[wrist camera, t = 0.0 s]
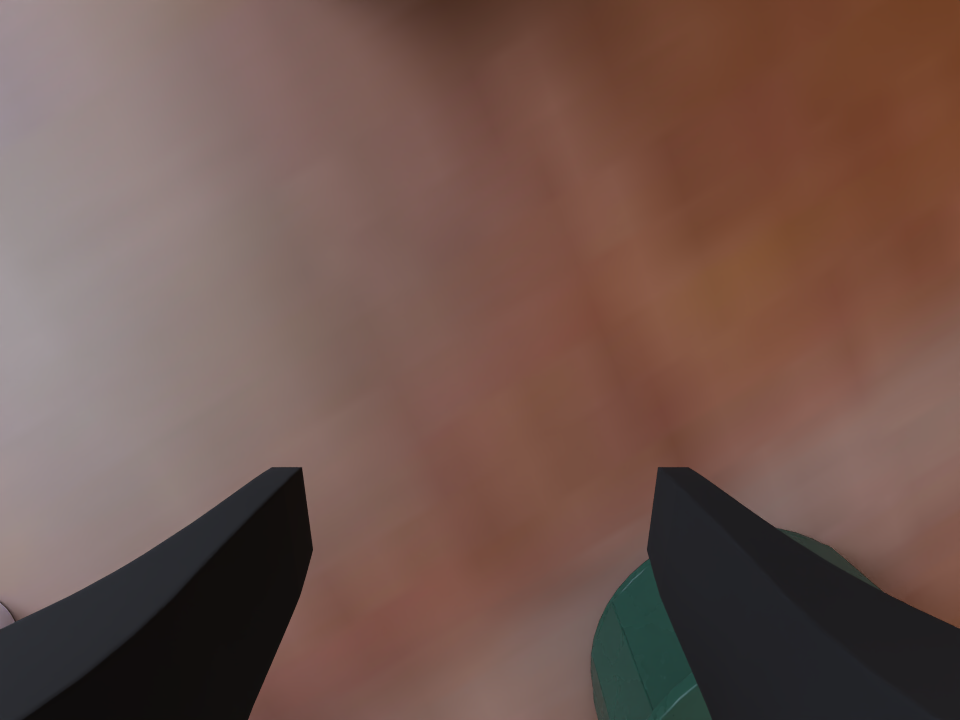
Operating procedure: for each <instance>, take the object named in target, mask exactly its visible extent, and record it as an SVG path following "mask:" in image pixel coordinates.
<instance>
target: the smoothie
mask: <svg viewBox="0 0 960 720" xmlns="http://www.w3.org/2000/svg"><path fill="white" fill-rule="evenodd" d="M14 622H15V621H14V619H13V617H12V615H11V614H10V612H9V611H8V610H7V609H6V608H5V607H4V606H3V605H2V604H1V603H0V629H2V628H4V627H6V626H8V625H10V624H12V623H14Z"/></svg>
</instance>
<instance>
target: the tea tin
mask: <svg viewBox="0 0 960 720" xmlns="http://www.w3.org/2000/svg"><path fill="white" fill-rule="evenodd" d="M776 529H778V528H776ZM778 530H779V531H781V532H783V533H784V534H786V535H787V536H789V537H790V538H792V539H793V540H795V541H796V542H798V543H799V544H801V545H803V546H804V547H806V548H807V549H809V550H811V551H812V552H814V553H815V554H817V555H819V556H820V557H822V558H823V559H825V560H827V561H828V562H830V563H832V564H833V565H835V566H837V567H839V568H840V569H842V570H844V571H846V572H847V573H849V574H851V575H853V576H855V577H857V578H858V579H860V580H862V581H864V582H866V583H868V584H869V585H871V586H873V587H875V588H877V589H879V588H878V587H877V586H876V585H875V584H873V583H872V582H871V581H870V580H869V579H868V578H866V577H865V576H864V575H863V574H862V573H861V572H859V571H858V570H857V569H856V568H855V567H854V566H852V565H851V564H850V563H849V562H848V561H847V560H845V559H844V558H843V557H842V556H841V555H840V554H838V553H837V552H836V551H835V550H834V549H833V548H830V547H829V546H827V545H824V544H821V543H820V542H818V541H816V540H814V539H812V538H809V537H806V536H804V535H801V534H798V533H795V532H791V531H787V530H782V529H778ZM879 590H880V589H879ZM880 591H882V590H880ZM882 592H883V591H882ZM690 673H692V670H691V668H690V666H689V663H688V661H687V659H686V656H685V654H684V652H683V649H682V647H681V645H680V643H679V640H678V638H677V636H676V633H675V631H674V628H673V626H672V624H671V621H670V619H669V617H668V614H667V612H666V609H665V607H664V605H663V602H662V600H661V597H660V594H659V591H658V588H657V584H656V581H655V577H654V574H653V570H652V566H651V563H650V559H648V560H647V561H645V562H644V563H643V564H642V565H641V566H640V567H638V568H637V569H636V570H635V571H634V572H633V573H632V574H631V575H630V576H629V577H628V578H627V579H626V580H625V581H624V582H623V584H622V585H621V586H620V587H619V588H618V589H617V591H616V592H615V594H614V595H613V597H612V598H611V600H610V601H609V603H608V604H607V606H606V608H605V610H604V612H603V614H602V616H601V618H600V621H599V624H598V627H597V630H596V633H595V636H594V640H593V646H592V652H591V677H592V685H593V695H594V704H595V708H596V712H597V716H598V720H646V719H647V718H648V717H649V715H650V714H651V712H652V711H653V710H654V708H655V707H656V706H657V705H658V704H659V703H660V702H661V701H662V700H663V698H664V697H665V696H666V695H667V694H668V693H669V692H670V691H671V690H672V689H673V688H674V687H675V686H676V685H677V684H678V683H680V682H681V681H682V680H683V679H684V678H686V677H687V676H688V675H689V674H690Z"/></svg>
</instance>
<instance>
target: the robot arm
mask: <svg viewBox="0 0 960 720" xmlns="http://www.w3.org/2000/svg"><path fill="white" fill-rule="evenodd" d="M312 551H313V546H312V539H311V531H310V524H309V516H308V509H307V502H306V494H305V487H304V479H303V472H302V467H272V468H270V469H268V470H267V471H265V472H264V473H262V474H261V475H259V476H258V477H256V478H255V479H253V480H252V481H250V482H249V483H248V484H246V485H245V486H243V487H242V488H241V489H239V490H238V491H236V492H235V493H234V494H232V495H231V496H230V497H228V498H227V499H225V500H224V501H223V502H221V503H220V504H218V505H217V506H215V507H214V508H213V509H211V510H210V511H208V512H207V513H206V514H204V515H203V516H201V517H200V518H198V519H197V520H196V521H194V522H193V523H191V524H190V525H188V526H187V527H185V528H184V529H182V530H181V531H179V532H177V533H176V534H174V535H173V536H171V537H170V538H168V539H167V540H165V541H164V542H162V543H161V544H159V545H157V546H156V547H154V548H153V549H151V550H150V551H148V552H147V553H145V554H144V555H142V556H140V557H139V558H137V559H135V560H134V561H132V562H130V563H129V564H127V565H125V566H124V567H122V568H120V569H118V570H117V571H115V572H113V573H111V574H110V575H108V576H106V577H104V578H102V579H100V580H99V581H97V582H95V583H93V584H91V585H89V586H88V587H86V588H84V589H82V590H80V591H78V592H76V593H74V594H73V595H71V596H69V597H67V598H65V599H62V600H60V601H58V602H56V603H54V604H52V605H50V606H48V607H46V608H44V609H42V610H39V611H37V612H35V613H33V614H31V615H29V616H27V617H25V618H23V619H21V620H19V621H17V622H14V623H12V624H10V625H8V626H6V627H4V628H2V629H0V720H248V718H249V716H250V713H251V710H252V708H253V705H254V703H255V701H256V698H257V696H258V694H259V691H260V689H261V687H262V684H263V682H264V680H265V677H266V675H267V673H268V670H269V668H270V666H271V663H272V661H273V659H274V656H275V654H276V652H277V649H278V647H279V645H280V643H281V640H282V638H283V636H284V633H285V631H286V628H287V626H288V624H289V621H290V619H291V617H292V614H293V612H294V609H295V607H296V605H297V602H298V600H299V597H300V594H301V591H302V588H303V584H304V581H305V577H306V574H307V570H308V566H309V563H310V559H311V555H312ZM647 551H648V555H649V559H650V563H651V566H652V570H653V574H654V577H655V581H656V584H657V588H658V591H659V594H660V597H661V600H662V602H663V605H664V607H665V609H666V612H667V614H668V617H669V619H670V621H671V624H672V626H673V628H674V631H675V633H676V636H677V638H678V640H679V643H680V645H681V647H682V649H683V652H684V654H685V656H686V659H687V661H688V663H689V666H690V668H691V670H692V673H693V675H694V677H695V680H696V682H697V684H698V687H699V689H700V691H701V694H702V696H703V698H704V701H705V703H706V705H707V708H708V710H709V713H710V716H711V718H712V720H960V629H959V628H957V627H955V626H953V625H950V624H948V623H946V622H944V621H942V620H940V619H937V618H935V617H933V616H931V615H929V614H927V613H925V612H922V611H920V610H918V609H916V608H914V607H912V606H910V605H908V604H906V603H904V602H902V601H900V600H898V599H896V598H894V597H892V596H890V595H888V594H886V593H884V592H882V591H880V590H879V589H877V588H875V587H873V586H871V585H869V584H868V583H866V582H864V581H862V580H860V579H858V578H857V577H855V576H853V575H851V574H849V573H847V572H846V571H844V570H842V569H840V568H839V567H837V566H835V565H833V564H832V563H830V562H828V561H827V560H825V559H823V558H822V557H820V556H819V555H817V554H815V553H814V552H812V551H811V550H809V549H807V548H806V547H804V546H803V545H801V544H799V543H798V542H796V541H795V540H793V539H792V538H790V537H789V536H787V535H786V534H784V533H783V532H781V531H779V530H778V529H776V528H775V527H774V526H772V525H771V524H769V523H768V522H766V521H765V520H763V519H762V518H760V517H759V516H758V515H756V514H755V513H753V512H752V511H750V510H749V509H748V508H746V507H745V506H743V505H742V504H741V503H739V502H738V501H736V500H735V499H734V498H732V497H731V496H729V495H728V494H727V493H725V492H724V491H722V490H721V489H720V488H718V487H717V486H716V485H714V484H713V483H711V482H710V481H708V480H707V479H706V478H704V477H703V476H701V475H700V474H698V473H697V472H695V471H694V470H692V469H690V468H689V467H658V472H657V479H656V487H655V494H654V502H653V509H652V516H651V524H650V531H649V539H648V546H647Z"/></svg>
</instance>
